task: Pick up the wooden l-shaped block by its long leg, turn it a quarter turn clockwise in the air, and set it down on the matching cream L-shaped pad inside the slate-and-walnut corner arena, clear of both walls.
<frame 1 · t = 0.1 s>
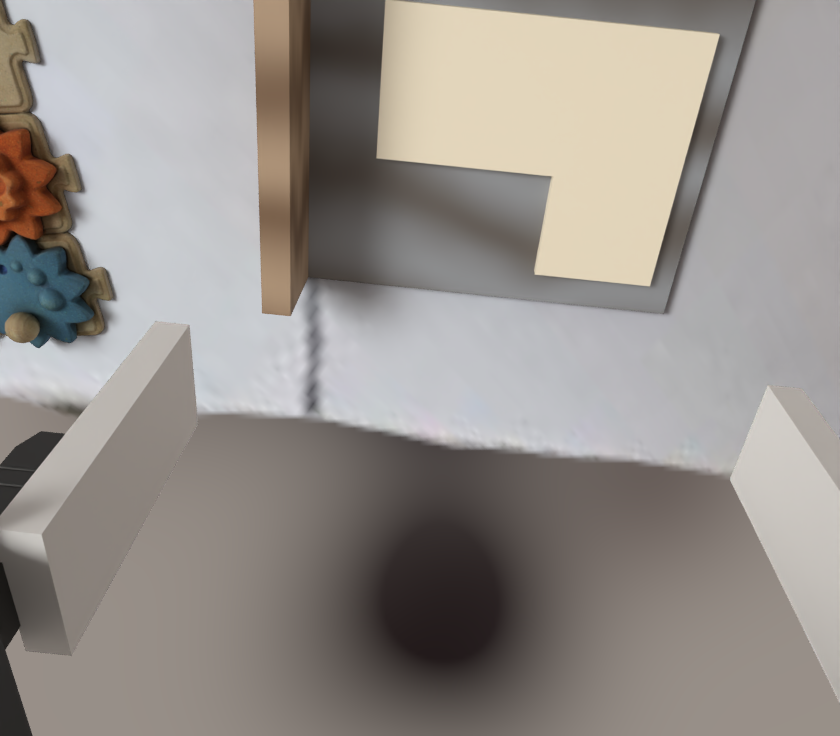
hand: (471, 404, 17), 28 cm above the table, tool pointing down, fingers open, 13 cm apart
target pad: (537, 95, 39), resting on arena
arena: (500, 91, 39), on the table
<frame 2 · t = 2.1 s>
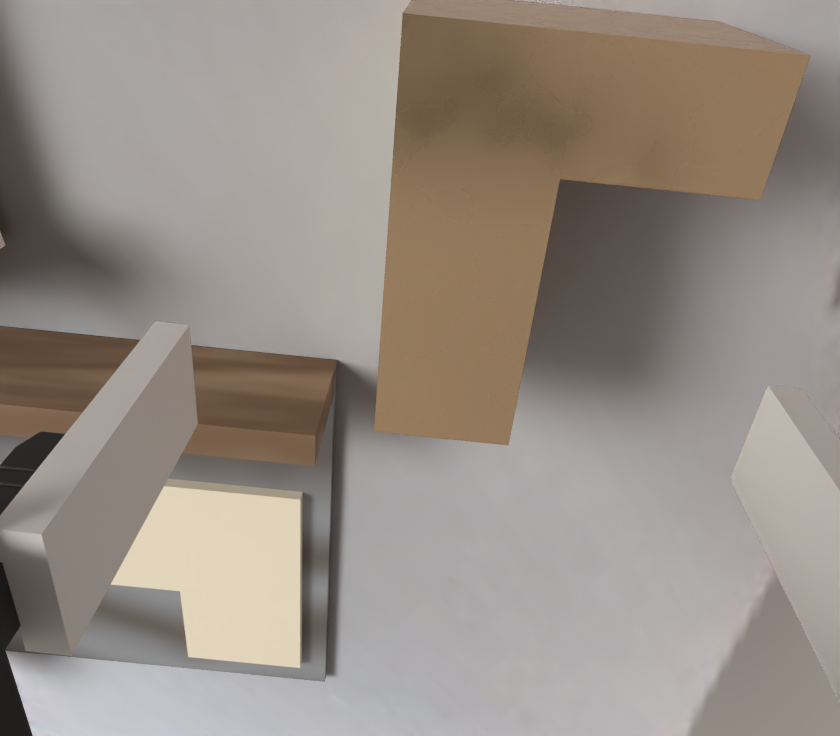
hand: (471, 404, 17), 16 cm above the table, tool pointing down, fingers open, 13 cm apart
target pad: (154, 523, 41), resting on arena
wooden l-shaped block: (463, 186, 30), on the table
arena: (119, 520, 41), on the table
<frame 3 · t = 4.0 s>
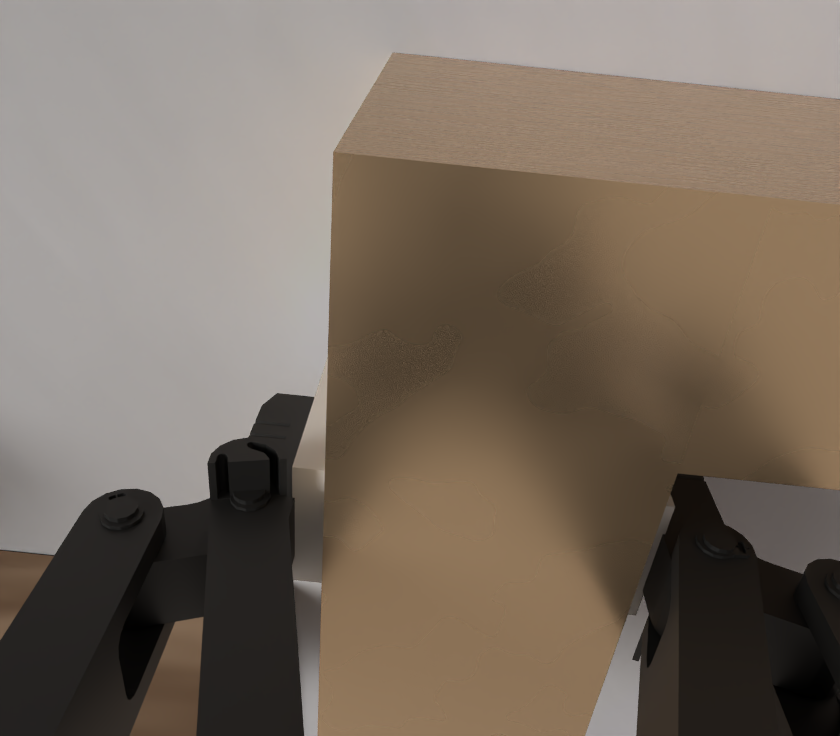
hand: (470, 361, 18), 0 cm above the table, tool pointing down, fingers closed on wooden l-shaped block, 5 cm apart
wooden l-shaped block: (470, 355, 19), on the table, touching gripper
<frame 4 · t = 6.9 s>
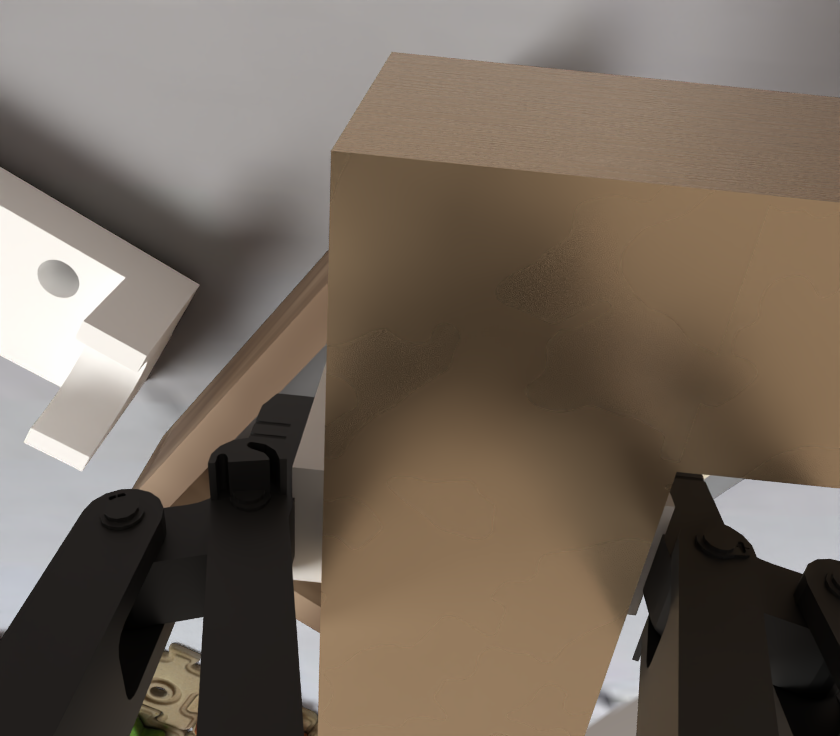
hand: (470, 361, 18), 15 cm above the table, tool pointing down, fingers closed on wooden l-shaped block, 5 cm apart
wooden l-shaped block: (470, 354, 19), point 15 cm above the table, touching gripper
gear puzzle: (186, 712, 53), on the table
bracket: (52, 257, 34), on the table
arena: (477, 430, 38), on the table
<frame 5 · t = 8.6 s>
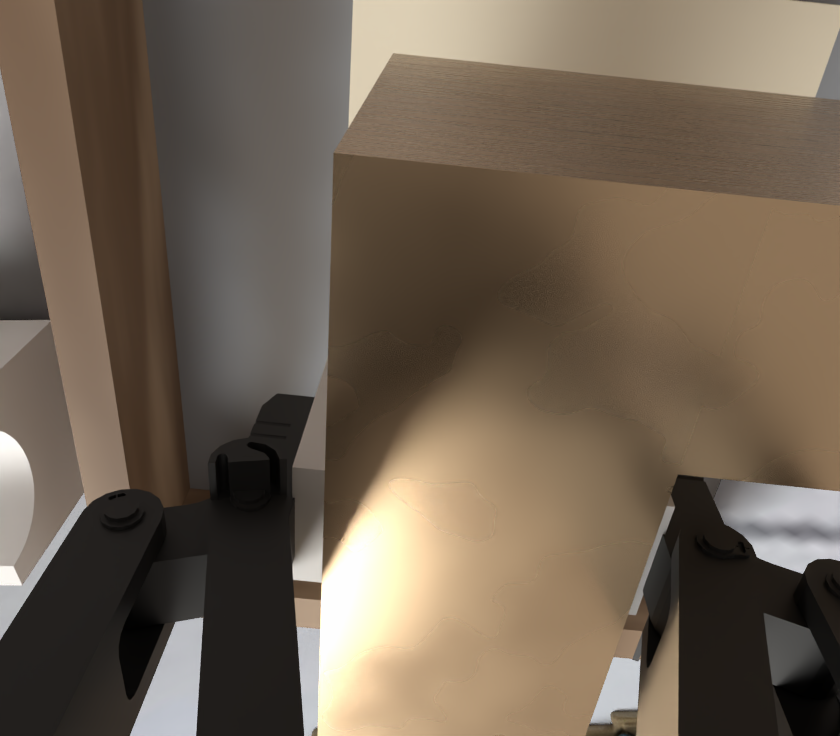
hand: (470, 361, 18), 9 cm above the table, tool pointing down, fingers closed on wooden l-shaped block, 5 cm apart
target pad: (460, 239, 26), resting on arena
wooden l-shaped block: (470, 355, 19), point 8 cm above the table, touching gripper
arena: (453, 290, 27), on the table
when the fingers open (3 cm above the table, at t = 10.0 s): wooden l-shaped block drops 1 cm, resting on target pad.
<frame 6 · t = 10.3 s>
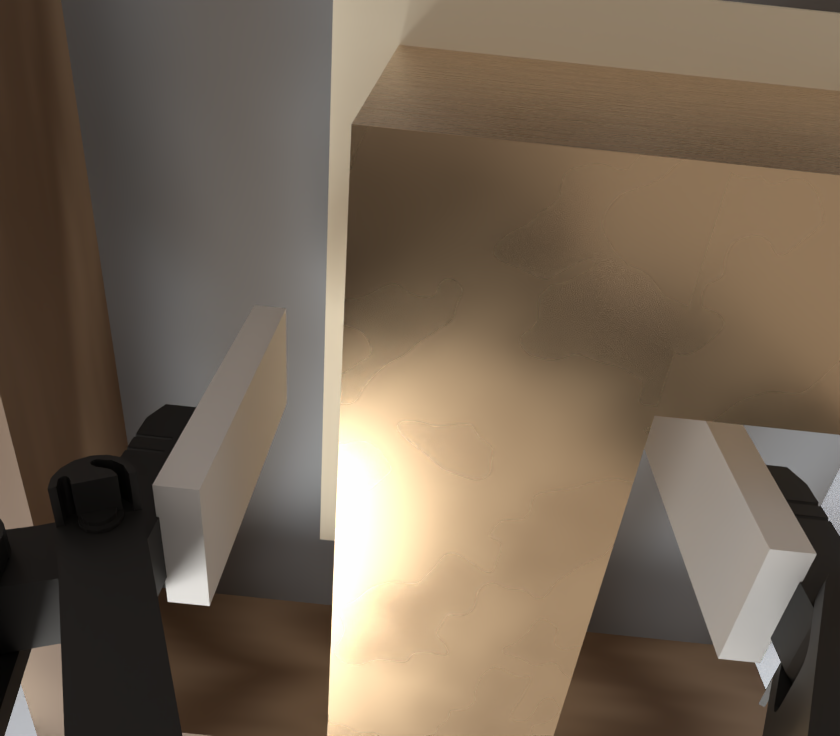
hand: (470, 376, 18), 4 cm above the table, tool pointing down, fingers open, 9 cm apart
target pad: (469, 309, 21), resting on arena
wooden l-shaped block: (470, 329, 20), point 1 cm above the table, touching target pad
arena: (461, 368, 22), on the table
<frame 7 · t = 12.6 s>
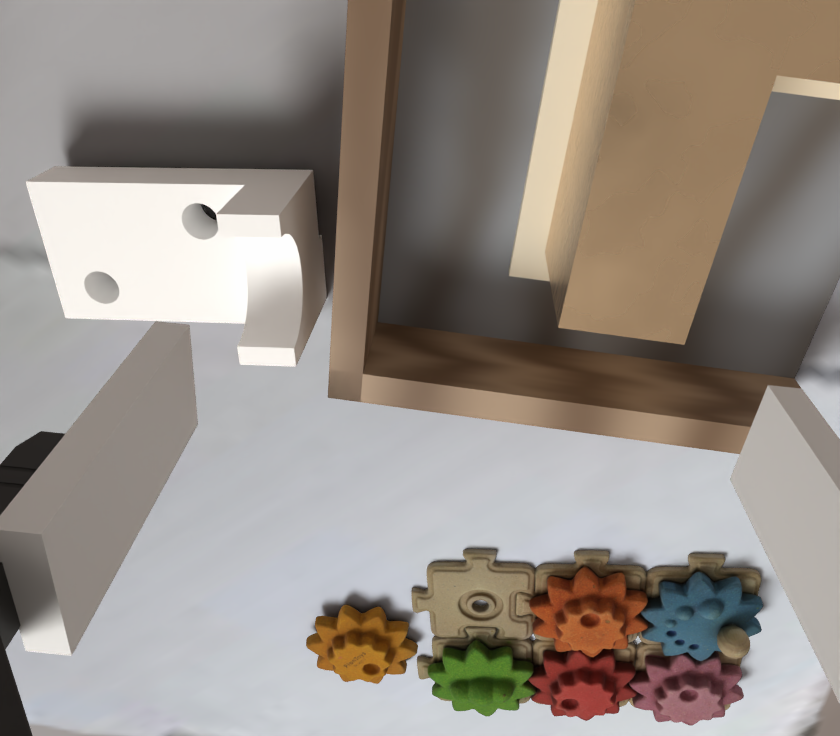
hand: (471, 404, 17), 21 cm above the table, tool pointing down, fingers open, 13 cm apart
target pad: (628, 105, 33), resting on arena
wooden l-shaped block: (632, 111, 32), point 1 cm above the table, touching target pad
gear puzzle: (521, 623, 52), on the table
bracket: (202, 229, 38), on the table
arena: (617, 149, 34), on the table
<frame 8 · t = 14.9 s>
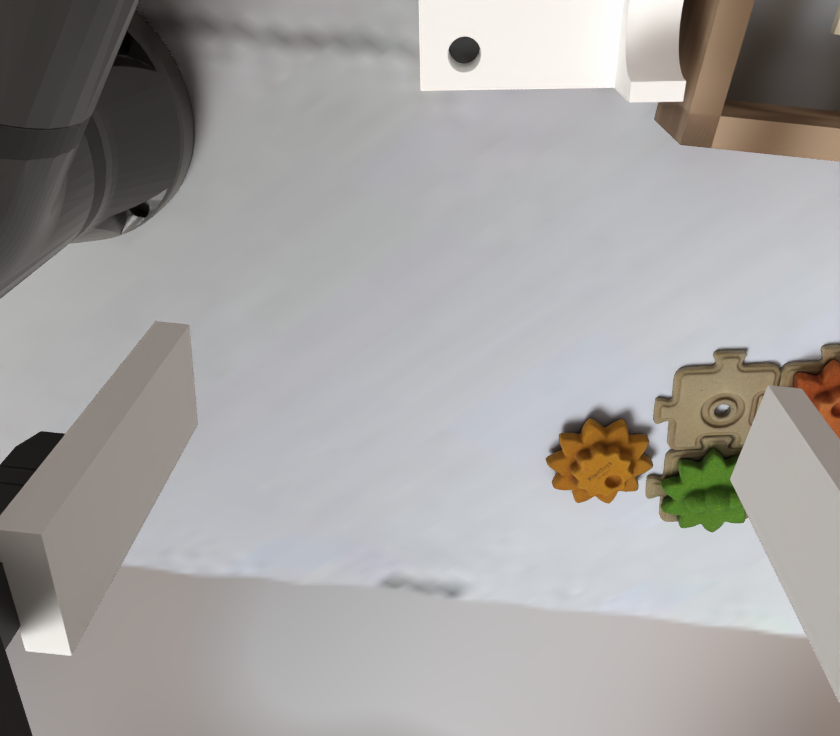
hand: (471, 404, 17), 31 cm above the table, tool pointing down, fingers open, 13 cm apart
gear puzzle: (751, 434, 55), on the table
bracket: (538, 9, 40), on the table
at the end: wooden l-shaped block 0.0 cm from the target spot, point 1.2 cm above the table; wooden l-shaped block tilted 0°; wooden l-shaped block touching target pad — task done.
